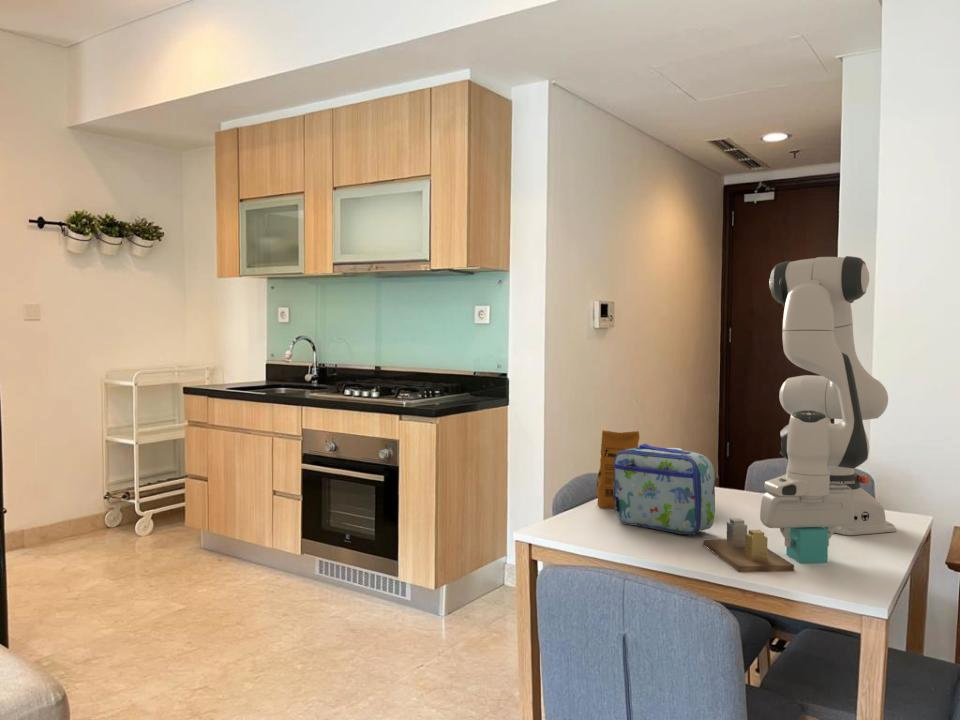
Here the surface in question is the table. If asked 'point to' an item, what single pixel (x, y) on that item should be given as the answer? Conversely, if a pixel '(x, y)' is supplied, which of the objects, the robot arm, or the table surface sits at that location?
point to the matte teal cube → (809, 545)
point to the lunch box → (664, 489)
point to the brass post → (756, 545)
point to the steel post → (736, 532)
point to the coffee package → (612, 463)
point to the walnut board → (742, 563)
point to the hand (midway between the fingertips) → (806, 546)
